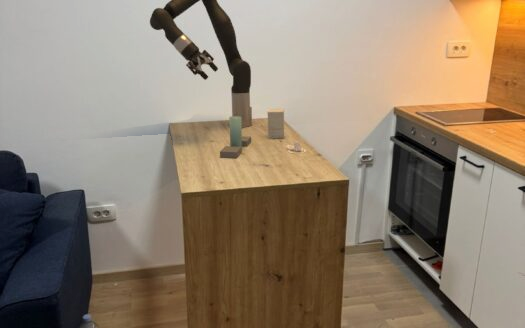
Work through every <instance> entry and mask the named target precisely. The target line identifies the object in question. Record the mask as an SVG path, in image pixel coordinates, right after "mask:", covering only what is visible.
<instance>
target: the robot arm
mask: <svg viewBox="0 0 525 328" xmlns="http://www.w3.org/2000/svg"><path fill="white" fill-rule="evenodd" d="M200 1H201V3H202V4H203V6H204V8H205V9H206V13H207V15H208V17H209V21H210V23H211V26H212V28H213V31H214V33H215V35H216V38H217V40H218V43H219V45H220V47H221V49H222V52H223V54H224V56H225V61H226V64H227V68H228V72H229V73H230V75H231V76H232V86H231V89H230V91H231V116H240V117H241V125H242V128H246V127H251V126H252V125H253V117H252V116H253V114H252V113H253V111H252V106H251V94H250V88H251V86H252V85H251V84H252V81H251V80H252V70H251V66H250V63H249V62H248V61H246V60H244V59H243V57H242V56H241V53H240V50H239V49H238V44H237V35H236V31H235V28H234V26H233V22H232V20H231V18H230V16H229V15H228V14H227V13H226V11H225V10H224V9H223V8H222V6H220V4H219V2H218V0H169V1H168V2H167V3H165V5H164V7H157V8H155V9H154V10H153V11H152V12H151V13H152V14H151V16H150V19H149V24H150V25H149V26H150V27H151V29H153V30H156V31H161V30H163V32H164V36H165V38H166V39H167V41H168V42H169V43H170V44H171V45H172V46H173V47H174V49H175V50H176V51H177V52H178V53H179V54H180V55H181V56H182V57H183V58H184V59H185V60H186V61H187V63H186V64H185V66H186V67H187V68H188V70H190V71H191V72H192V74H193V75H194V76H196V75H199V76H200V77H201V78H202V79H203V80H204V81H206V80H208V78H209V76H208V75H207V74H206V72H205V71H204V70H202V66H203V65H208V66H209V68H211V70H212V71H214V72H215V73H216V72H217V71H218V70H219V68H218V66H217V65H216V64H215V62H214V60H215V58H214V57H213V56H212V55H211V54H210V53H209V52H208V51H207V50H206V49H204V50H202V52H200V48H199V47H198V45H196V43H194V42H193V41H192V40H191V38H190V37H188V36H187V35H186V34H185V33H184V32H183V31H182V29H180V28H179V27H178V26H177V24H176V22H175V21H174V20H175V19H176V18H177V17H179V16H180V15H182V14H183V13H185V11H187V10H189V9H191V7H192V6H194V5H195V4H197V3H198V2H200Z"/></svg>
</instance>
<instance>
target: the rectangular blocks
mask: <svg viewBox="0 0 525 328" xmlns="http://www.w3.org/2000/svg"><path fill="white" fill-rule="evenodd" d="M251 143H252V136H245V135H244V136H243V135H242V147H234V146H230V145H228V146H227V145H225V146H224V147H222V149H221V150H220V151H219V157H220V158H228V159H238V158H239V156H241V154H242V153H243V148H244V147H245V148H247V147H248V146H249V145H250V144H251Z"/></svg>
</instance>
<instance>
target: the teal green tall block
mask: <svg viewBox="0 0 525 328" xmlns="http://www.w3.org/2000/svg"><path fill="white" fill-rule="evenodd" d="M242 128H243V127H242V125H241V117H240V116H232V115H231V116H229V141H230V143H229V144H230V145H229V146H234V147H242V136H243V133H242V132H243V131H242ZM242 148H243V147H242Z"/></svg>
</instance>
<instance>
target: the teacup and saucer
mask: <svg viewBox="0 0 525 328" xmlns="http://www.w3.org/2000/svg"><path fill="white" fill-rule="evenodd" d="M292 143H293V145H291V144H289V145H286V149H287V153H290V154H294V152H295V154H296V155H297V154H304V153H306V152H307V149H305V148H303V145H302V144H301V143H302V142H301V141H293V142H292ZM301 149H302V150H301ZM303 149H304V152H303ZM293 151H294V152H293Z"/></svg>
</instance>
